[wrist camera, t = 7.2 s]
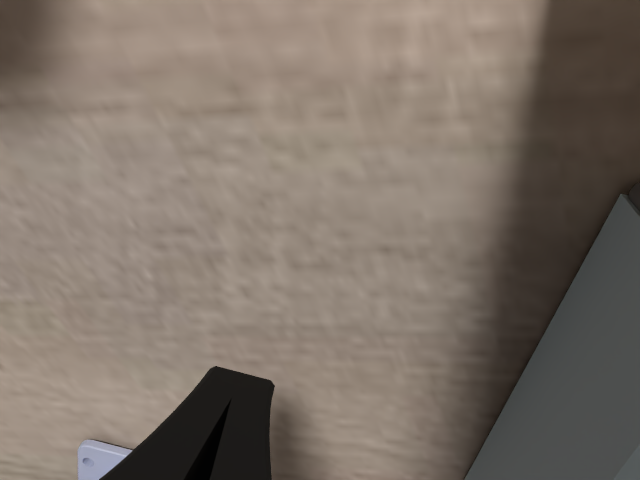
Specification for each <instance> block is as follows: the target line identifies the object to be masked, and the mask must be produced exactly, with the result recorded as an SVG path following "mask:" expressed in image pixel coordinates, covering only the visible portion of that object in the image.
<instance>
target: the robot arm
mask: <svg viewBox="0 0 640 480" xmlns="http://www.w3.org/2000/svg"><path fill="white" fill-rule="evenodd" d="M274 387H275V386H274V384H273V383H272V381H271V380H267V379H263V378H259V377H256V376H252V375H248V374H244V373H240V372H236V371H233V370H229V369H225V368H221V367H217V366H215V367H213V368H211V369H209V371H208V372H207V373H206V375H205V376H204V377H203V379H202V380H201V381H200V382H199V384H198V385H197V386H196V387H195V388H194V390H193V391H192V392H191V393H190V394H189V395H188V396H187V398H186V399H185V400H184V401H183V402H182V403H181V404H180V405H179V406H178V407H177V408H176V410H175V411H174V412H173V413H172V414H171V415H170V416H169V417H168V418H167V419H166V420H165V421H164V422H163V423H162V424H161V425H160V426H159V427H158V428H157V429H156V430H155V431H154V432H153V433H152V434H151V435H149V436H148V437H147V438H146V439H145V440H144V441H143V442H142V443H141V444H140V445H138V446H137V447H136V448H135V449H134V450H130V449H126V448H122V447H118V446H114V445H111V444H107V443H103V442H99V441H95V440H84V441H83V442H82V443H81V445H80V446H79V448H78V480H272V478H271V464H270V446H269V427H270V408H271V400H272V396H273V391H274Z"/></svg>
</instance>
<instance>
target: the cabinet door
mask: <svg viewBox="0 0 640 480" xmlns="http://www.w3.org/2000/svg"><path fill="white" fill-rule="evenodd" d="M464 480H640V182H639V183H637V184H636V185H634V186H633V188H632V189H631V190H630V192H629V195H625V194H620V196H619V198H618V200H617V201H616V203H615V205H614V207H613V209H612V211H611V212H610V214H609V216H608V218H607V220H606V222H605V223H604V225H603V227H602V229H601V231H600V233H599V234H598V236H597V238H596V240H595V242H594V243H593V245H592V247H591V249H590V251H589V253H588V254H587V256H586V258H585V260H584V262H583V264H582V265H581V267H580V269H579V271H578V273H577V275H576V276H575V278H574V280H573V282H572V284H571V286H570V287H569V289H568V291H567V293H566V295H565V297H564V298H563V300H562V302H561V304H560V306H559V308H558V309H557V311H556V313H555V315H554V317H553V318H552V320H551V322H550V324H549V326H548V328H547V329H546V331H545V333H544V335H543V337H542V339H541V340H540V342H539V344H538V346H537V348H536V350H535V351H534V353H533V355H532V357H531V359H530V361H529V362H528V364H527V366H526V368H525V370H524V372H523V373H522V375H521V377H520V379H519V381H518V382H517V384H516V386H515V388H514V390H513V392H512V393H511V395H510V397H509V399H508V401H507V403H506V404H505V406H504V408H503V410H502V412H501V414H500V415H499V417H498V419H497V421H496V423H495V425H494V426H493V428H492V430H491V432H490V434H489V436H488V437H487V439H486V441H485V443H484V445H483V446H482V448H481V450H480V452H479V454H478V456H477V457H476V459H475V461H474V463H473V465H472V467H471V468H470V470H469V472H468V474H467V476H466V478H465V479H464Z"/></svg>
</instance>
